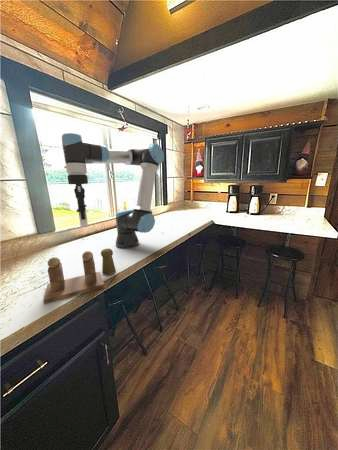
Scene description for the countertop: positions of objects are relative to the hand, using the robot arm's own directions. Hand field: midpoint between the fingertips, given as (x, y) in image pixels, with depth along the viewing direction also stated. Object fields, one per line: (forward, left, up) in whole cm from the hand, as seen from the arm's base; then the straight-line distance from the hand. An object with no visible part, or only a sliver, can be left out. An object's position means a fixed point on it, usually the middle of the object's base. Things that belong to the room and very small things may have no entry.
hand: (84, 224), depth 81 cm
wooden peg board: (+7, +12, -23) cm, 27 cm away
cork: (-7, +5, -23) cm, 25 cm away
